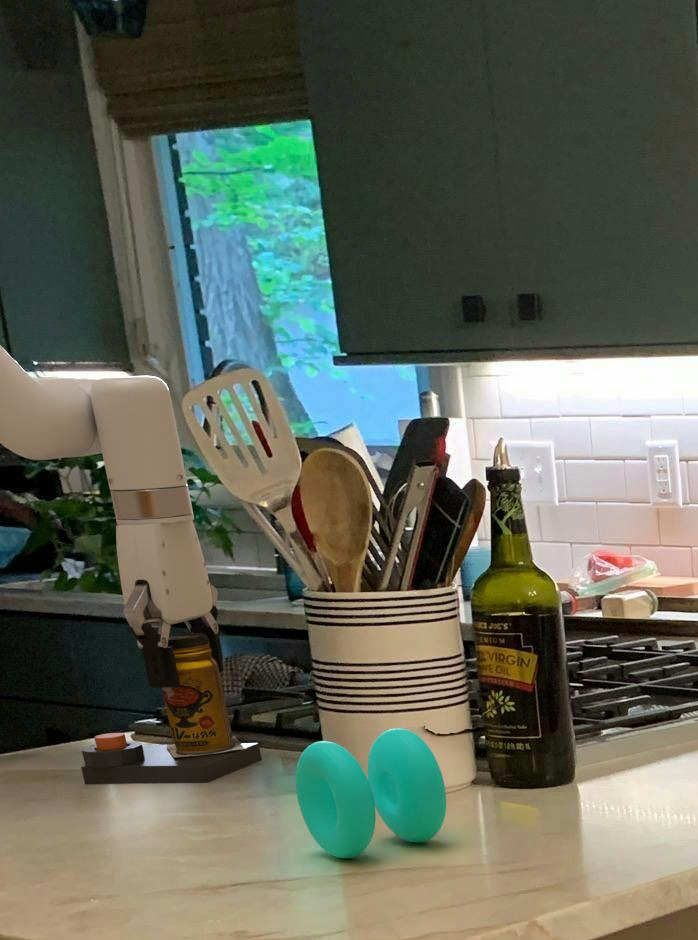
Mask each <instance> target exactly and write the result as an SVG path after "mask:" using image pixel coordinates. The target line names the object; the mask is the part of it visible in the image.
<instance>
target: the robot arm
mask: <svg viewBox="0 0 698 940" xmlns="http://www.w3.org/2000/svg"><path fill="white" fill-rule="evenodd" d="M172 401H173V400H172V397H171V392H170V389H169V387H168V385H167V384H166V382H164V380H162V379H161V378H160V377H157V376H152V375H130V376H129V375H128V376H111V377H103V378H98V379H96V378H90V377H89V378H88V377H79V376H45V377H44V376H43V377H39V376H38V377H32V376H31V375H30V374H29V373H28V372H27V371H26V370H25V369H24V368H23V367H22V366H21V365H20V364H19V363H18V361H16V360H15V359H14V358H13V357H12V356H11V355H10V354H9V353H8V352H7V350H6V349H5V348H4V347H3V346H2V345H1V344H0V444H1V446H3V447H4V448H6V449H8V450H9V451H10V452H12V453H14V454H15V455H18V456H20V457H23V458H24V459H28V460H33V461H46V460H47V461H48V460H49V461H50V460H55V459H62V458H63V459H64V458H79V457H87V456H94V455H98V454H101V455H102V458H103V459H102V460H103V464H104V468H105V474H106V478H107V483H108V488H109V490H110V496H111V497H110V498H111V502H112V506H113V510H114V515H115V521H116V525H115V541H116V542H115V543H116V552H117V553H116V555H117V564H118V572H119V579H120V585H121V591H122V597H123V603H124V607H123V608H122V613H123V616H124V618H125V620H126V622H127V623H128V625H129V627H130V632H131V634H132V635H133V636H134V637H135V639H136V644H137V647H138V648H139V649H140V650H141V653H142V658H143V663H144V667H145V672H146V676H147V681H148V686H150V688H153V689H157V688H158V689H159V688H161V689H162V688H165V687H178V686H179V685H180V681H179V676H178V671H177V666H176V661H175V656H174V651H173V647H167V646H168V640H169V635H171V634H170V633H171V627H172V625H175V624H179V623H184V624H185V626H186V628H187V629H188V630H189V633H203V634H206V635H207V636H208V638H209V646H210V648H211V650H212V653H211V656H212V658H213V659H214V660H215V661H216V662H217V664H218V668H219V673H223V672H224V663H223V657H222V651H221V648H220V642H219V637H218V633H219V624H218V622H217V619H218V616H219V609H218V607H217V606H218V595H219V592H218V589H217V588H216V587H215V585H212V583H210V579H209V574H208V570H207V565H206V562H205V557H204V553H203V549H202V547H201V543H200V539H199V537H198V533H197V530H196V529H197V528H196V527H195V524H194V520H195V515H194V511H193V506H192V499H191V495H190V490H189V486H188V485H189V484H188V480H187V474H186V468H185V463H184V458H183V454H182V453H183V452H182V447H181V444H180V443H181V442H180V437H179V433H178V427H177V421H176V417H175V412H174V406H173V402H172ZM155 628H158V629H157V631H156V630H155Z"/></svg>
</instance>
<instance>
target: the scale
mask: <svg viewBox="0 0 698 940" xmlns="http://www.w3.org/2000/svg"><path fill="white" fill-rule="evenodd" d="M126 742H127V747H124V748H119V749H111V750H97V747H96V744H92V745H89V746H86V747H83V748H82V750H81V753H82V759H83V762H84V765H83V766H80V768H81V773H82V778H83V782H84V785H131V784H132V785H135V784H136V785H137V784H139V785H141V784H145V785H146V784H147V785H148V784H209V783H210V782H214V781H216V780H218V779H220V778H222V777H225V776H227V775H229V774H231V773H235V772H237V771H239V770H241V769H244V768H246V767H248V766H250V765H253V764H255V763H258V762H260V761H262V753H261V749H260V748H261V747H260V743H259V742H247V743H246V742H240V743H241V745H242V746H243V747H244V748H245V749H239V750H230V751H226V752H222V753H215V754H208V755H199V756H188V757H186V756H184V757H175V758H173V756H172V755H171V753H170V751H169V750H168V748H167V745H174V743H173V744H172V743H171V744H170V743H169V744H143V743H142V742H141V741H135V740H131V741H130V740H129V741H127V740H126Z"/></svg>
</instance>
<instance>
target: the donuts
mask: <svg viewBox="0 0 698 940" xmlns="http://www.w3.org/2000/svg"><path fill="white" fill-rule="evenodd" d="M368 753H369V754H368V757H367V767H366V768H367V771H366V772H367V774H366V772H365V771H364V769H363V767H362V765H361V764H360V763H359V761H358V760H357V759H356V757H355V756H354V755H353V754H352V753H351V752H350V751H348V749H346V748H345V747H344V746H341V745H340V744H338V743H336V742H334V741H333V742H332V741H328V740H320V741H316V742H313V743H312V744H309V745H308V746H307V747H306V748H305V749H304V750H303V751H302V753H301V754H300V756H299V758H298V761H297V765H296V768H295V769H296V771H295V790H296V796H297V797H296V798H297V802H298V806H299V810H300V813H301V815H302V819H303V820H304V823H305V826H306V828H307V829H308V831H309V833H310V836H311V837H312V838H313V839H314V841H315V842H316V843H317V844H318V846H319V847H320V848H322V850H324V851H325V852H327V854H329V855H331V856H334V857H335V858H339V859H352V858H355V857H357V856H359V855H361V854H362V853H363V852H364V851H365V850H366V849H367V848H368V846H369V845H370V843H371V841H372V839H373V836H374V834H375V833H374V832H375V828H376V819H377V818H376V811H377V814H378V815H379V817H380V818H381V820H382V822H383V823H384V825H385V826H386V827H387V828H388V829H389V830H390V831H391V832H392V833H393V834H395V835H396V836H397V837H398V838H400V839H402V840H404V841H407V842H410V843H414V844H416V843H418V844H419V843H424V842H428V841H429V840H431V839H433V838H434V837H435V836H436V835H437V834H438V833H439V832H440V830H441V828H442V826H443V824H444V821H445V817H446V813H447V793H446V786H445V781H444V777H443V773H442V771H441V768H440V765H439V763H438V761H437V758H436V756H435V755H434V752H433V751H432V750H431V748H430V747H429V745H428V744H427V743H426V742H425V741H424V740H423V739H422V738H421V737H420V736H419V735H418V734H416V733H415V732H413V731H412V730H409V729H407V728H406V729H405V728H401V727H395V728H390V729H387V730H385V731H383V732H382V733H381V734H379V735H378V736H377V737H376V739H375V740H374V741H373V743H372V745H371V748H370V751H369V752H368Z"/></svg>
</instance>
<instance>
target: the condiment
mask: <svg viewBox="0 0 698 940" xmlns="http://www.w3.org/2000/svg"><path fill="white" fill-rule="evenodd" d="M167 647H173V651H174V656H175V661H176V666H177V671H178V676H179V681H180V685H179V686H178V687H165V688H161V690H162V695H163V701H164V706H165V710H166V713H167V714H166V715H167V719H168V723H169V729H170V733H171V738H172V743H173V744H174V745H167V744H166V745H167V748H168V750H169V751H170V753H171V755H172V756H173V758H175V757H184V756H186V757H188V756H199V755H208V754H215V753H222V752H226V751H230V750H239V749H245V748H244V747H243V746H242V745H241V743H242V742H241V741H240V740H238V738H237V736H235V735H233V733H232V729H231V728H232V727H231V723H230V718H229V713H228V708H227V704H226V703H227V702H226V699H225V693H224V688H223V684H222V677H221V674H220V673H221V672H220V673H219V668H218V664H217V662H216V661H215V660H214V659H213V658H212V656H211V653H212V650H211V648H210V646H209V638H208V636H207V635H206V634H203V633H191V632H189V633H185V632H184V633H177V634H169V640H168V646H167Z"/></svg>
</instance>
